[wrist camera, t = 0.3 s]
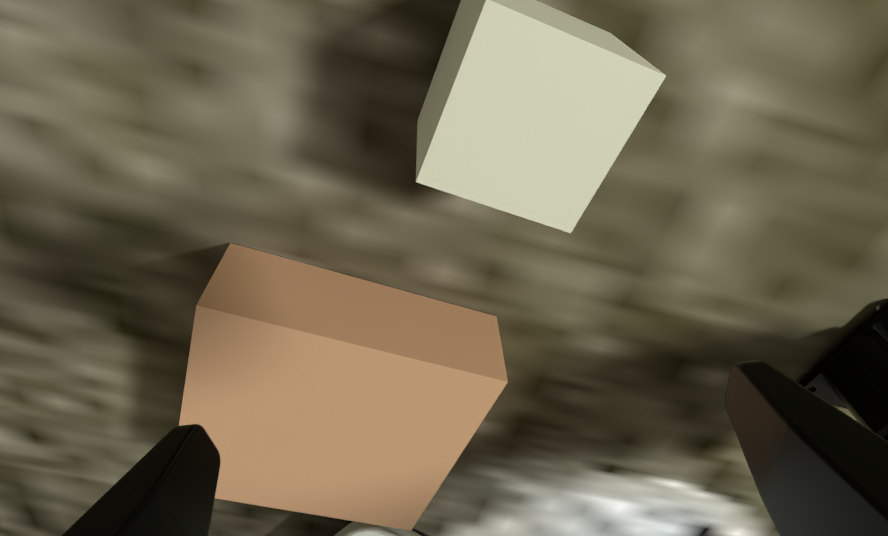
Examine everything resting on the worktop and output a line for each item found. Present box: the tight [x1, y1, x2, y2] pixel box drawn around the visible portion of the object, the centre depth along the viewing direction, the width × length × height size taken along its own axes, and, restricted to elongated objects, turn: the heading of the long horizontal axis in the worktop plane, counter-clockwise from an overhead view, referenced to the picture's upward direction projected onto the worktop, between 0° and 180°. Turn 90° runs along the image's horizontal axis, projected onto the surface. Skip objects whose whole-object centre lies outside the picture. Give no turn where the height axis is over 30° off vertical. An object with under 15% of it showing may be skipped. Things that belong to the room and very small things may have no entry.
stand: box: [179, 243, 508, 531], centre depth 25 cm, size 12×12×4 cm
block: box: [416, 0, 666, 233], centre depth 16 cm, size 5×5×5 cm
